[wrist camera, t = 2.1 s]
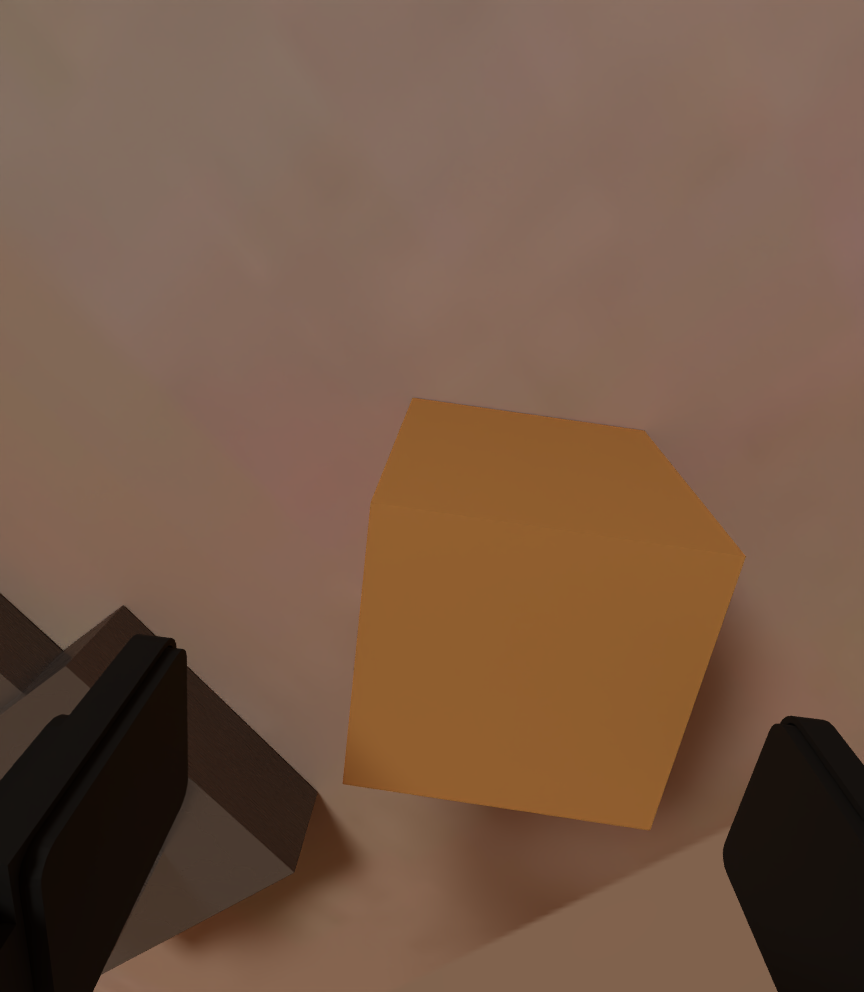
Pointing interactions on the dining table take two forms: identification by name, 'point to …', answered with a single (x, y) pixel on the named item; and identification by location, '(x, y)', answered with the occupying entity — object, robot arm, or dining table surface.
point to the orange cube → (532, 615)
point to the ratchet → (210, 791)
